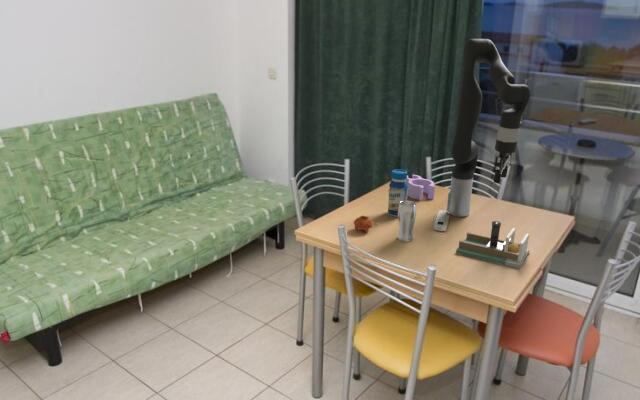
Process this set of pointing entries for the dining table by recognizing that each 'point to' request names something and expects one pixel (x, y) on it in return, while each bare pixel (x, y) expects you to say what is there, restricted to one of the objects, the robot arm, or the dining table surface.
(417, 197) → the clip
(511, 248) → the ball
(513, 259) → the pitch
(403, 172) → the beverage bottle
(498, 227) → the slider
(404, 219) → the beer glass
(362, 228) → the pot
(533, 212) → the dining table surface
